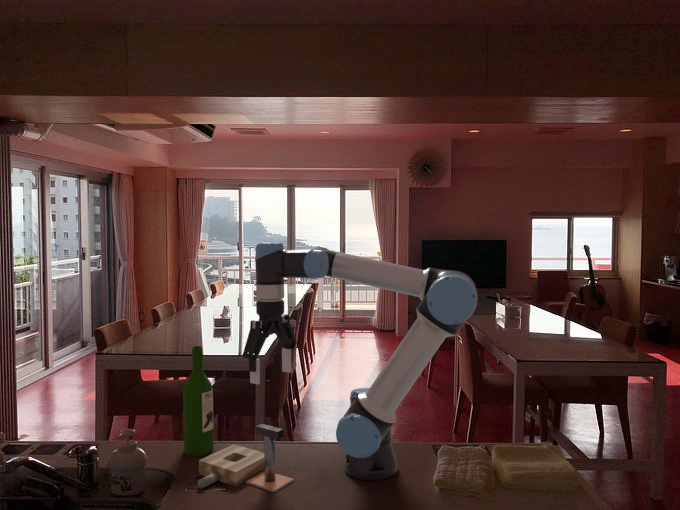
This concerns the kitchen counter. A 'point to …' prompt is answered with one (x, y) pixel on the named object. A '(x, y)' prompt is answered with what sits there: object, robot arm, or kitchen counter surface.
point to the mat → (271, 486)
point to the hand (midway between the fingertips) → (271, 377)
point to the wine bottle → (198, 409)
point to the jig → (231, 466)
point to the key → (269, 449)
